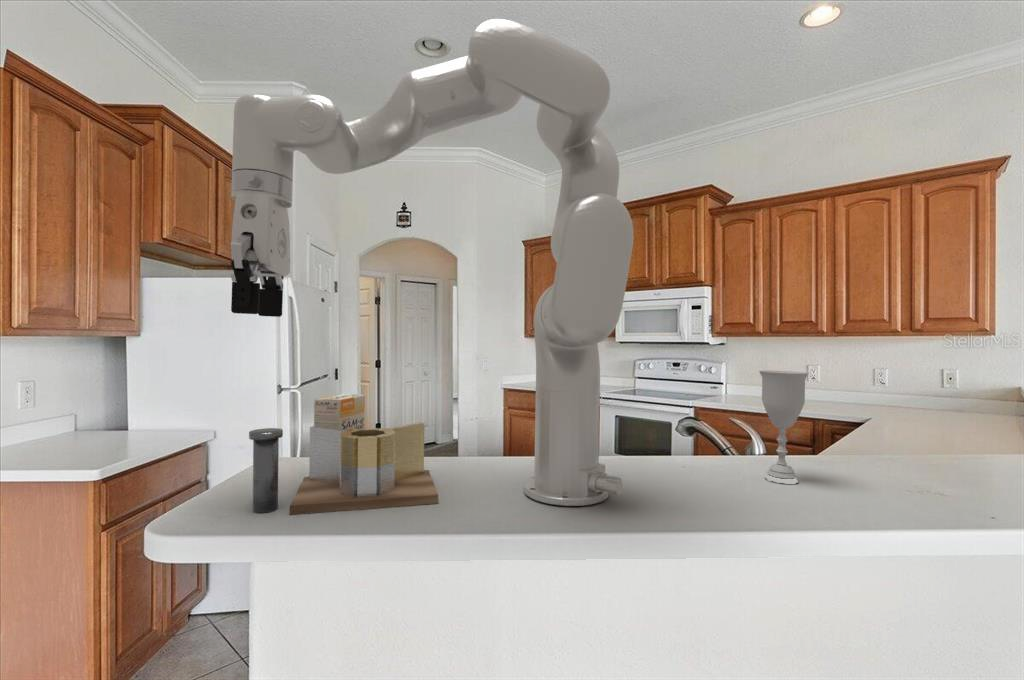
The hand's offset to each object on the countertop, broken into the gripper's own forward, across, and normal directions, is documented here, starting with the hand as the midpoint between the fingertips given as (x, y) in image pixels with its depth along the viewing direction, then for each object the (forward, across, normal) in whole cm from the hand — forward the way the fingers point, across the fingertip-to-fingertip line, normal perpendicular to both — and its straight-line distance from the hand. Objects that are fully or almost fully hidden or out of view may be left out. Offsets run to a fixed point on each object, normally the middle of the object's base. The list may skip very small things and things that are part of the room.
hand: (258, 315), depth 69 cm
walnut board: (+26, +1, -15) cm, 30 cm away
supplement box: (+26, +12, -10) cm, 30 cm away
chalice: (+24, +1, -82) cm, 85 cm away
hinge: (+24, +2, -15) cm, 29 cm away
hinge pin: (+26, -4, -3) cm, 26 cm away
